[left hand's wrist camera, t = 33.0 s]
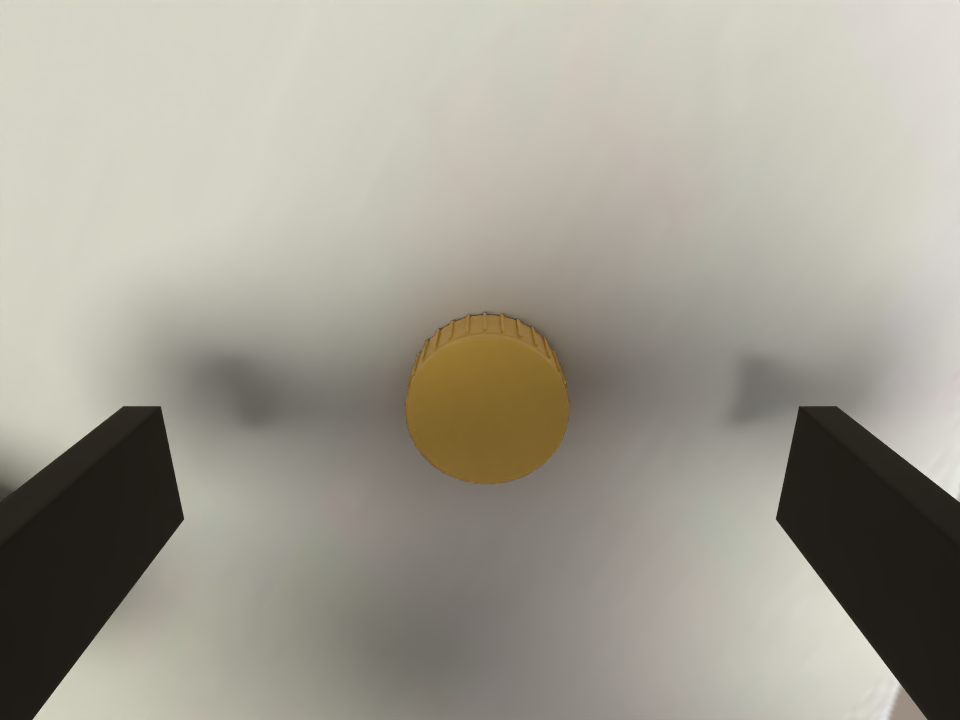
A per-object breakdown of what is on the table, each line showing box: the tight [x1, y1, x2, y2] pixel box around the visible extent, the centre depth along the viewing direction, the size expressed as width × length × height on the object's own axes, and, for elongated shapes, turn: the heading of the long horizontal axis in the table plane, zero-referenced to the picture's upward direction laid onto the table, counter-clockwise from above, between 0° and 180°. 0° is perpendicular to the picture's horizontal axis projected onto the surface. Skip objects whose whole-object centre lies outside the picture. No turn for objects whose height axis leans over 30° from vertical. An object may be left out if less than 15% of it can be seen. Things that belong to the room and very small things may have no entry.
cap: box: [405, 313, 569, 484], centre depth 15 cm, size 4×4×2 cm
